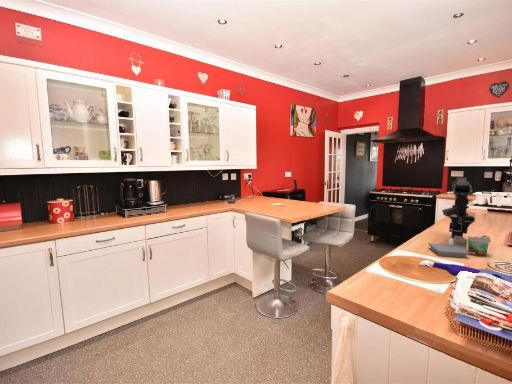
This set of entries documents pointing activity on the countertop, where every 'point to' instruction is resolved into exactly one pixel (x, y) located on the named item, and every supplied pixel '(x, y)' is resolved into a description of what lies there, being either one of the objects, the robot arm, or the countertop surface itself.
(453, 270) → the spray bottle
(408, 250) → the countertop surface
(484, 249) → the food container
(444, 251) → the stand
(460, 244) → the housing
